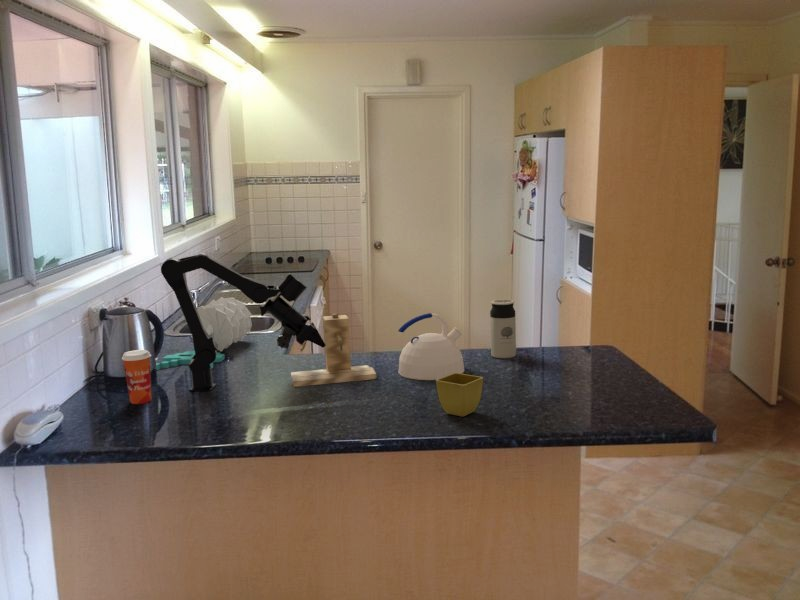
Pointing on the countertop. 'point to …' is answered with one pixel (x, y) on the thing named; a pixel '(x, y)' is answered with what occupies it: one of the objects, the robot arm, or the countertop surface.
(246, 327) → the spiral staircase
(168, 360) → the alien figure
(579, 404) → the countertop surface
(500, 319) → the travel mug
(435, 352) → the kettle
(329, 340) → the tan wooden tall block
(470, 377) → the flower pot
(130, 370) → the paper cup
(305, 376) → the board
